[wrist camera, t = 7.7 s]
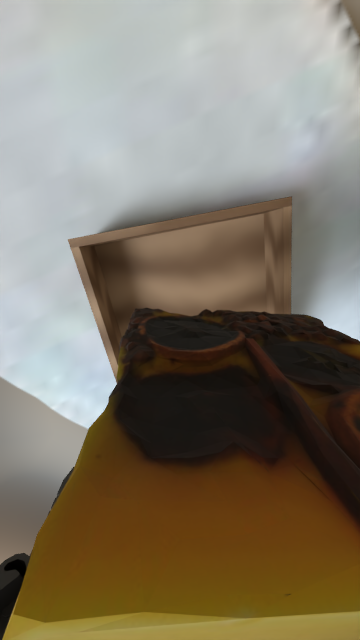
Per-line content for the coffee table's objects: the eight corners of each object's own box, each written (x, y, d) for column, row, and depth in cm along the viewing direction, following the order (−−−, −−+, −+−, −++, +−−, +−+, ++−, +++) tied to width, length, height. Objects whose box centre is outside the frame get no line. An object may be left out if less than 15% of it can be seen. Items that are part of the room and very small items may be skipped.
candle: (132, 304, 11) (-53, 619, 2) (314, 310, 12) (870, 566, 2) (137, 445, 15) (81, 803, 5) (277, 444, 15) (448, 760, 6)
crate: (88, 240, 25) (67, 239, 20) (266, 206, 25) (291, 196, 20) (133, 386, 33) (127, 413, 28) (271, 361, 32) (290, 383, 27)
